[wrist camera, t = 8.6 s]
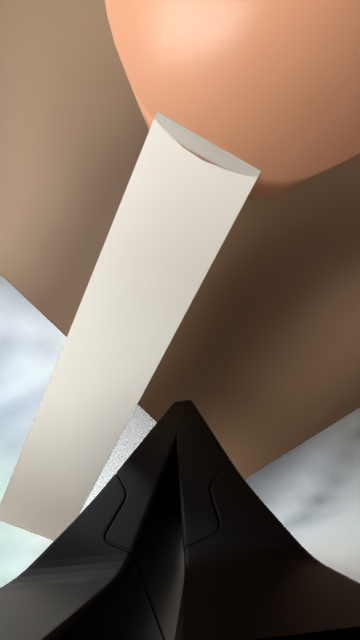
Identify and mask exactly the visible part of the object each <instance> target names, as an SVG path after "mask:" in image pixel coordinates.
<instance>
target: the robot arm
mask: <svg viewBox="0 0 360 640" xmlns="http://www.w3.org/2000/svg"><path fill="white" fill-rule="evenodd" d="M0 640H360V583H358V582H356V581H354V580H352V579H350V578H348V577H347V576H345V575H343V574H341V573H339V572H337V571H335V570H333V569H331V568H329V567H327V566H326V565H324V564H322V563H321V562H320V561H318V560H317V559H315V558H314V557H313V556H312V555H311V554H310V553H308V552H307V551H306V550H305V549H304V548H303V547H302V546H301V545H300V543H299V542H298V541H297V540H296V539H295V538H294V537H293V536H292V535H291V534H290V532H289V531H288V530H287V529H286V528H285V527H284V526H283V525H282V523H281V522H280V521H279V520H278V519H277V518H276V517H275V515H274V514H273V513H272V512H271V511H270V510H269V509H268V508H267V506H266V505H265V504H264V503H263V502H262V501H261V500H260V499H259V497H258V496H257V495H256V494H255V493H254V491H253V490H252V489H251V488H250V486H249V485H248V484H247V483H246V481H245V480H244V479H243V477H242V476H241V474H240V473H239V472H238V470H237V469H236V467H235V466H234V464H233V463H232V461H231V460H230V458H229V457H228V455H227V454H226V452H225V451H224V449H223V447H222V446H221V444H220V443H219V441H218V440H217V438H216V437H215V435H214V434H213V432H212V431H211V429H210V428H209V426H208V424H207V423H206V421H205V420H204V418H203V417H202V415H201V414H200V412H199V411H198V409H197V408H196V406H195V405H194V403H193V401H192V400H185V401H178V402H174V403H173V404H172V405H171V406H170V408H169V409H168V410H167V411H166V413H165V414H164V415H163V416H162V417H161V419H160V420H159V421H158V422H157V424H156V425H155V426H154V427H153V428H152V430H151V431H150V432H149V433H148V435H147V436H146V437H145V438H144V439H143V441H142V442H141V443H140V444H139V446H138V447H137V448H136V449H135V450H134V452H133V453H132V454H131V455H130V457H129V458H128V459H127V460H126V461H125V463H124V464H123V465H122V466H121V468H120V469H119V470H118V471H117V474H115V475H114V476H113V477H112V478H111V480H110V481H109V482H108V483H107V485H106V486H105V487H104V488H103V489H102V490H101V492H100V493H99V494H98V495H97V496H96V497H95V499H94V500H93V501H92V502H91V503H90V504H89V505H88V506H87V507H86V508H85V509H84V510H83V511H82V513H81V514H80V515H79V516H78V517H77V518H76V519H75V520H74V521H73V522H72V523H71V524H70V525H69V526H68V527H67V528H66V529H65V530H64V531H63V532H62V533H61V534H60V535H59V536H58V537H57V539H56V540H55V541H54V542H53V543H52V544H51V545H50V546H49V547H48V548H47V549H46V550H45V551H44V552H43V553H42V554H41V555H40V556H39V557H38V558H37V559H36V560H35V561H34V562H33V563H32V564H31V565H30V566H29V567H28V568H27V569H26V570H25V571H24V572H22V573H21V574H20V575H19V576H18V577H17V578H15V579H14V580H12V581H11V582H9V583H8V584H6V585H5V586H3V587H1V588H0Z"/></svg>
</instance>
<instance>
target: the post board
mask: <svg viewBox="0 0 360 640" xmlns="http://www.w3.org/2000/svg"><path fill="white" fill-rule="evenodd" d="M148 133H149V130H148V127H147V125H146V122H145V120H144V117H143V115H142V112H141V110H140V107H139V105H138V102H137V100H136V97H135V95H134V92H133V90H132V87H131V85H130V82H129V80H128V77H127V75H126V72H125V70H124V67H123V64H122V62H121V59H120V57H119V54H118V51H117V49H116V46H115V43H114V39H113V36H112V32H111V28H110V24H109V20H108V17H107V12H106V5H105V0H0V274H1V275H2V276H3V277H4V278H5V279H6V280H7V281H8V282H9V283H10V284H11V285H12V286H13V287H14V288H16V289H17V290H18V291H19V292H20V293H21V294H22V295H23V296H24V297H25V298H26V299H27V300H28V301H29V302H30V303H31V304H32V305H34V306H35V307H36V308H37V309H38V310H39V311H40V312H41V313H42V314H43V315H44V316H45V317H46V318H47V319H48V320H49V321H50V322H52V323H53V324H54V325H55V326H56V327H57V328H58V329H59V330H60V331H61V332H62V333H63V334H64V335H65V336H66V337H67V336H68V333H69V331H70V328H71V326H72V323H73V321H74V318H75V316H76V313H77V311H78V308H79V306H80V303H81V301H82V298H83V296H84V293H85V291H86V288H87V286H88V283H89V281H90V278H91V276H92V273H93V271H94V268H95V266H96V263H97V261H98V258H99V256H100V253H101V251H102V248H103V246H104V243H105V241H106V238H107V236H108V233H109V231H110V228H111V226H112V223H113V220H114V218H115V215H116V213H117V210H118V208H119V205H120V203H121V200H122V198H123V195H124V193H125V190H126V188H127V185H128V183H129V180H130V178H131V175H132V173H133V170H134V168H135V165H136V163H137V160H138V158H139V155H140V153H141V150H142V148H143V145H144V143H145V140H146V138H147V135H148ZM185 400H192V401H193V403H194V405H195V406H196V408H197V409H198V411H199V412H200V414H201V415H202V417H203V418H204V420H205V421H206V423H207V424H208V426H209V428H210V429H211V431H212V432H213V434H214V435H215V437H216V438H217V440H218V441H219V443H220V444H221V446H222V447H223V449H224V451H225V452H226V454H227V455H228V457H229V458H230V460H231V461H232V463H233V464H234V466H235V467H236V469H237V470H238V472H239V473H240V474H241V476H242V477H243V479H245V478H246V477H248V476H250V475H251V474H253V473H254V472H256V471H258V470H259V469H261V468H262V467H264V466H266V465H267V464H269V463H271V462H272V461H274V460H275V459H277V458H279V457H280V456H282V455H283V454H285V453H287V452H288V451H290V450H291V449H293V448H295V447H296V446H298V445H299V444H301V443H303V442H304V441H306V440H308V439H309V438H311V437H312V436H314V435H316V434H317V433H319V432H320V431H322V430H324V429H325V428H327V427H328V426H330V425H332V424H333V423H335V422H337V421H338V420H340V419H341V418H343V417H345V416H346V415H348V414H349V413H351V412H353V411H354V410H356V409H357V408H359V407H360V153H359V154H357V155H355V156H353V157H352V158H350V159H348V160H346V161H344V162H342V163H340V164H338V165H336V166H334V167H331V168H329V169H327V170H325V171H323V172H321V173H319V174H317V175H315V176H313V177H311V178H309V179H306V180H304V181H302V182H300V183H298V184H296V185H294V186H292V187H290V188H288V189H285V190H283V191H281V192H278V193H276V194H273V195H269V196H266V197H262V198H256V199H248V200H245V202H244V204H243V206H242V208H241V210H240V212H239V214H238V215H237V217H236V219H235V221H234V223H233V225H232V227H231V229H230V231H229V232H228V234H227V236H226V238H225V240H224V242H223V244H222V246H221V247H220V249H219V251H218V253H217V255H216V257H215V259H214V261H213V263H212V264H211V266H210V268H209V270H208V272H207V274H206V276H205V278H204V280H203V281H202V283H201V285H200V287H199V289H198V291H197V293H196V295H195V296H194V298H193V300H192V302H191V304H190V306H189V308H188V310H187V312H186V313H185V315H184V317H183V319H182V321H181V323H180V325H179V327H178V328H177V330H176V332H175V334H174V336H173V338H172V340H171V342H170V344H169V345H168V347H167V349H166V351H165V353H164V355H163V357H162V359H161V361H160V362H159V364H158V366H157V368H156V370H155V372H154V374H153V376H152V377H151V379H150V381H149V383H148V385H147V387H146V389H145V391H144V393H143V394H142V396H141V398H140V400H139V402H138V405H139V406H140V407H141V408H143V409H144V410H145V411H146V412H147V413H148V414H149V415H150V416H151V417H152V418H153V419H154V420H155V421H156V422H158V421H159V420H160V419H161V417H162V416H163V415H164V414H165V413H166V411H167V410H168V409H169V408H170V406H171V405H172V404H173V403H174V402H178V401H185Z"/></svg>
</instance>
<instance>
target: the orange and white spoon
mask: <svg viewBox="0 0 360 640" xmlns="http://www.w3.org/2000/svg"><path fill="white" fill-rule="evenodd" d="M105 5H106V12H107V17H108V20H109V24H110V28H111V32H112V36H113V39H114V43H115V46H116V49H117V51H118V54H119V57H120V59H121V62H122V64H123V67H124V70H125V72H126V75H127V77H128V80H129V82H130V85H131V87H132V90H133V92H134V95H135V97H136V100H137V102H138V105H139V107H140V110H141V112H142V115H143V117H144V120H145V122H146V125H147V127H148V130H149V133H148V135H147V138H146V140H145V143H144V145H143V148H142V150H141V153H140V155H139V158H138V160H137V163H136V165H135V168H134V170H133V173H132V175H131V178H130V180H129V183H128V185H127V188H126V190H125V193H124V195H123V198H122V200H121V203H120V205H119V208H118V210H117V213H116V215H115V218H114V220H113V223H112V226H111V228H110V231H109V233H108V236H107V238H106V241H105V243H104V246H103V248H102V251H101V253H100V256H99V258H98V261H97V263H96V266H95V268H94V271H93V273H92V276H91V278H90V281H89V283H88V286H87V288H86V291H85V293H84V296H83V298H82V301H81V303H80V306H79V308H78V311H77V313H76V316H75V318H74V321H73V323H72V326H71V328H70V331H69V333H68V336H67V338H66V341H65V343H64V346H63V349H62V351H61V354H60V356H59V359H58V361H57V364H56V366H55V369H54V371H53V374H52V376H51V379H50V381H49V384H48V386H47V389H46V391H45V394H44V396H43V399H42V401H41V404H40V406H39V409H38V411H37V414H36V416H35V419H34V421H33V424H32V426H31V429H30V431H29V434H28V436H27V439H26V441H25V444H24V446H23V449H22V451H21V454H20V456H19V459H18V461H17V464H16V467H15V469H14V472H13V474H12V477H11V479H10V482H9V484H8V487H7V489H6V492H5V494H4V497H3V499H2V502H1V504H0V521H3V522H6V523H8V524H11V525H14V526H16V527H19V528H22V529H24V530H27V531H30V532H32V533H35V534H38V535H40V536H43V537H45V538H48V539H51V540H53V541H55V540H56V539H57V537H58V536H59V535H60V534H61V533H62V532H63V531H64V530H65V529H66V528H67V527H68V526H69V525H70V524H71V523H72V522H73V521H74V520H75V519H76V518H77V517H78V515H79V513H80V511H81V509H82V508H83V506H84V504H85V502H86V500H87V498H88V496H89V494H90V492H91V491H92V489H93V487H94V485H95V483H96V481H97V479H98V477H99V475H100V474H101V472H102V470H103V468H104V466H105V464H106V462H107V460H108V459H109V457H110V455H111V453H112V451H113V449H114V447H115V445H116V443H117V442H118V440H119V438H120V436H121V434H122V432H123V430H124V428H125V426H126V425H127V423H128V421H129V419H130V417H131V415H132V413H133V411H134V410H135V408H136V406H137V404H138V402H139V400H140V398H141V396H142V394H143V393H144V391H145V389H146V387H147V385H148V383H149V381H150V379H151V377H152V376H153V374H154V372H155V370H156V368H157V366H158V364H159V362H160V361H161V359H162V357H163V355H164V353H165V351H166V349H167V347H168V345H169V344H170V342H171V340H172V338H173V336H174V334H175V332H176V330H177V328H178V327H179V325H180V323H181V321H182V319H183V317H184V315H185V313H186V312H187V310H188V308H189V306H190V304H191V302H192V300H193V298H194V296H195V295H196V293H197V291H198V289H199V287H200V285H201V283H202V281H203V280H204V278H205V276H206V274H207V272H208V270H209V268H210V266H211V264H212V263H213V261H214V259H215V257H216V255H217V253H218V251H219V249H220V247H221V246H222V244H223V242H224V240H225V238H226V236H227V234H228V232H229V231H230V229H231V227H232V225H233V223H234V221H235V219H236V217H237V215H238V214H239V212H240V210H241V208H242V206H243V204H244V202H245V200H248V199H256V198H262V197H266V196H269V195H273V194H276V193H278V192H281V191H283V190H285V189H288V188H290V187H292V186H294V185H296V184H298V183H300V182H302V181H304V180H306V179H309V178H311V177H313V176H315V175H317V174H319V173H321V172H323V171H325V170H327V169H329V168H331V167H334V166H336V165H338V164H340V163H342V162H344V161H346V160H348V159H350V158H352V157H353V156H355V155H357V154H359V153H360V0H105Z"/></svg>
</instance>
